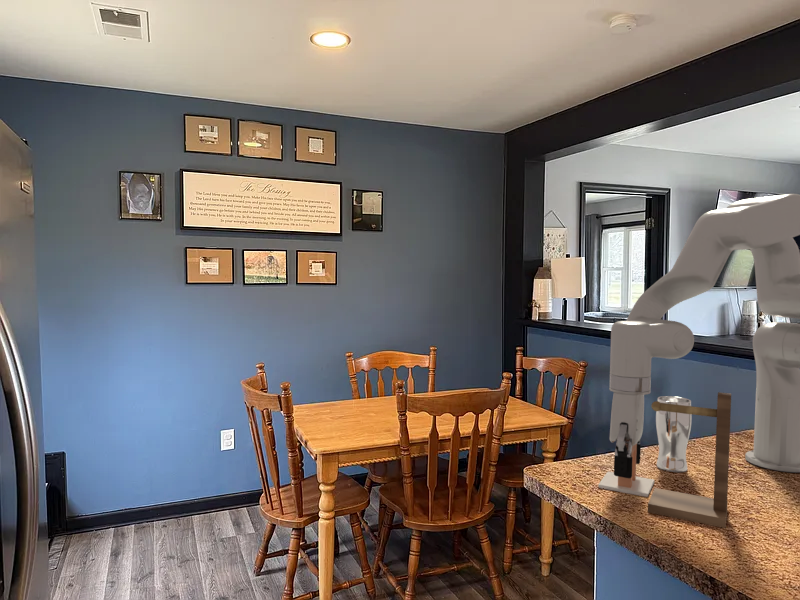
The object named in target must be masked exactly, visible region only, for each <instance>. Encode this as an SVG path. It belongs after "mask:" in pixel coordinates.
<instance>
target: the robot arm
mask: <svg viewBox="0 0 800 600" xmlns="http://www.w3.org/2000/svg"><path fill="white" fill-rule="evenodd" d="M798 236H800V194H798V193H785V194H777V195H769V196H760V197H759V196H758V197H754V198H753V197H751V198H745V199H741V200H737V201H735V202H732V203H730V204H729V205H728V206H727V207H726V208H721V209H714V210H710V211H707V212H705V213H703V214H702V215H700V217H698V219H697V220H696V222H695V224H694V226H693V227H692V229H691V231H690V234H689V236H688V237H687V238H686V241H685V243H684V245H683V248H682V249H681V251H680V253H679V255H678V257H677V259H676V261H675V262H674V265H673V266H672V268H671V269H670V270H669V271H668V272H667V273H666V274H664V275H663V276H661V277H660V278H659V279H658V280H656V281H655V282H654V283H653V284H651V286H650V287H649V288H647V289H646V290H645V291H644V292H643V293H642V294H641V295H640V296H639V297H638V298H637V300H636V302H634V305H633V307H632V309H631V311H630V313H629V314H628V317H627V318H626V320H619V321H616V322H614V323H613V324H612V326H611V328H610V329H611V330H610V351H609V352H610V355H609V356H610V357H609V359H610V360H609V389H608V390H609V391H610V392H613V396H612V401H611V402H612V403H611V412H610V413H611V415H610V425H609V426H610V427H609V428H610V429H609V441H610V443H614V442H616V443H615V450H614V457H613V458H614V459H613V472H614V475H615V476H619V477H624V478H631V477H632V459H633V457H631V452H632V446H633V445H635V444H637V453H636V465H639V464H640V463H641V450H642V449H641V447H642V446H641V445H642V444H641V438H642V435H643V431H644V420H645V419H644V418H645V417H644V416H645V414H644V413H645V395H649V394H651V385H652V384H651V383H652V382H651V380H652V377H651V375H652V358H653V359H654V358H661V359H667V360H676V359H681V358H683V357H685V356H686V355H688V354H689V353H690V352H691V351H692V349H693V347H694V343H695V335H694V333H693V331H692V330H691V328H689V326H688V325H686V324H684V323H682V322H679V321H677V320H676V321H675V320H669V319H662V318H663V316H664V315H665V314H666V313H667V312H668V311H669V310H670V309H672V308H673V307H675V306H676V305H678V304H680V303H682V302H684V301H687V300H689V299H692V298H695V297H697V296H699V295H702V294H704V293H706V292H708V291H710V290H711V289H713V288H714V286H715V285H716V283H717V281H718V278H719V277H720V275H721V272H722V271H723V269H724V266H725V265H726V263H727V261H728V259H729V257H730V255H731V253H732V252H733V251H735V250H736V251H738V250H741V251H742V250H750V252H751V255H752V257H753V262H754V265H753V266H754V272H755V273H754V274H755V286H756V287H755V289H756V297H757V304H758V308H759V310H760V311H761V312H762V313H764V314H765V315H768V316H772V317H778V318H787V319H788V318H789V319H800V249H799V248H800V247H799V246H798V244H797V243H796V242H797V241H796V240H795V239H794V238H795V237H798ZM752 337H753V338H752V350H753V356H754V362H755V372H756V373H755V374H756V376H755V377H756V379H755V380H756V381H755V382H756V385H755V386H756V387H755V388H756V389H755V405H754V406H755V409H754V411H755V412H754V429H753V431H754V434H753V450H750V451H749V450H748V451H746V452H745V454H744V455H745V457H744V458H745V460H746V461H747V462H749V463H751V464H752V465H755V466H757V467H761V468H764V469H768V470H772V471H779V472H787V473H800V322H799V323H797V322H786V321H773V322H767V323H765V324H762V325H760V326H759V327H758V328H757V329H756V330H755V332H754V334H753V336H752ZM626 440H629V441H626ZM627 446H628V447H627ZM627 449H628V450H627Z"/></svg>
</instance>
